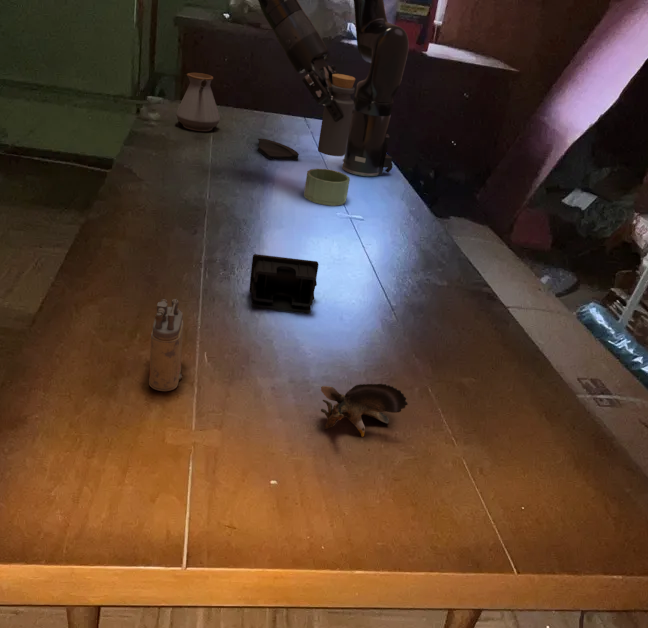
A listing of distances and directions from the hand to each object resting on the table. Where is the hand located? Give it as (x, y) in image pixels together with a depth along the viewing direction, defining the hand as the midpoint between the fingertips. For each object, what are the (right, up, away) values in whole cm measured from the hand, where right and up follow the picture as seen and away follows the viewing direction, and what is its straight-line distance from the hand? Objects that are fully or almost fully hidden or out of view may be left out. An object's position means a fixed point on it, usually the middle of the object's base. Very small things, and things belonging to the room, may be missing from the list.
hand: (345, 117), depth 149 cm
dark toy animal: (-2, -61, -61) cm, 86 cm away
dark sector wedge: (-16, +4, +34) cm, 38 cm away
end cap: (-12, -43, -35) cm, 57 cm away
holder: (-4, -14, +10) cm, 18 cm away
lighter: (-25, -55, -58) cm, 84 cm away
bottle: (-3, -6, +5) cm, 8 cm away
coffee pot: (-36, +11, +40) cm, 55 cm away
